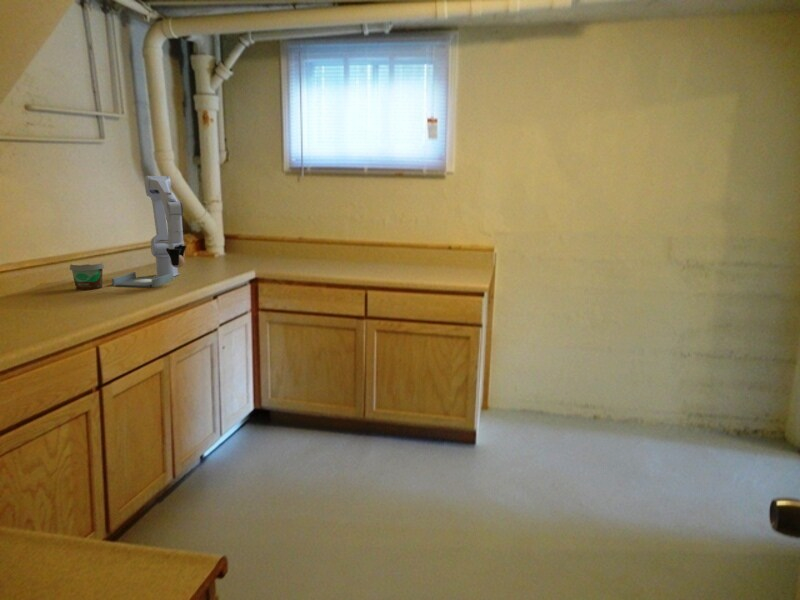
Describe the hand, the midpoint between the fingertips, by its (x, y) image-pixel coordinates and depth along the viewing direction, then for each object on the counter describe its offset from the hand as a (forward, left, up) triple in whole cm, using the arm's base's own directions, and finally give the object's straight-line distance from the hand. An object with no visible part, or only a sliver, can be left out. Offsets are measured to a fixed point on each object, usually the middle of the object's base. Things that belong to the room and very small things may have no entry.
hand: (177, 264), depth 240 cm
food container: (+16, -30, -9) cm, 35 cm away
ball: (0, 0, +1) cm, 1 cm away
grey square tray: (0, -15, -8) cm, 18 cm away
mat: (0, -15, -8) cm, 18 cm away
